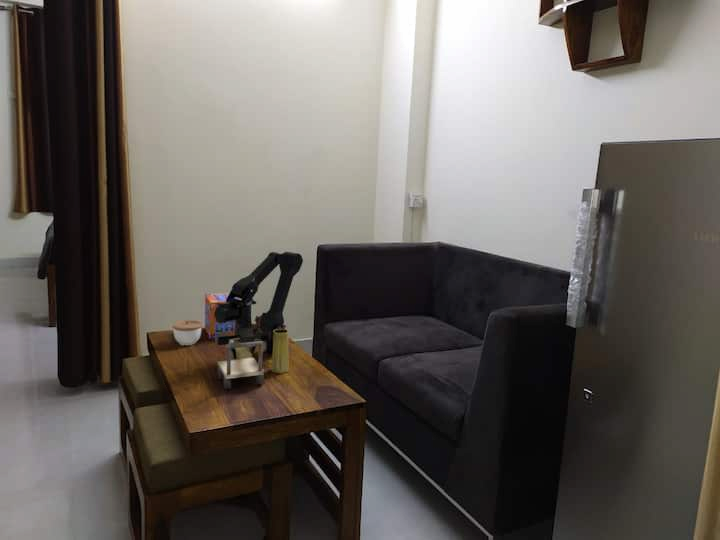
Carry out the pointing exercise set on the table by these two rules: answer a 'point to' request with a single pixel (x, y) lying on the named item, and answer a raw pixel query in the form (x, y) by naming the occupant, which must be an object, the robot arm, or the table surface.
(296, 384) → the table surface
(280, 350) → the vase
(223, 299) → the game box
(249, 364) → the trolley
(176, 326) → the lidded jar
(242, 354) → the block
